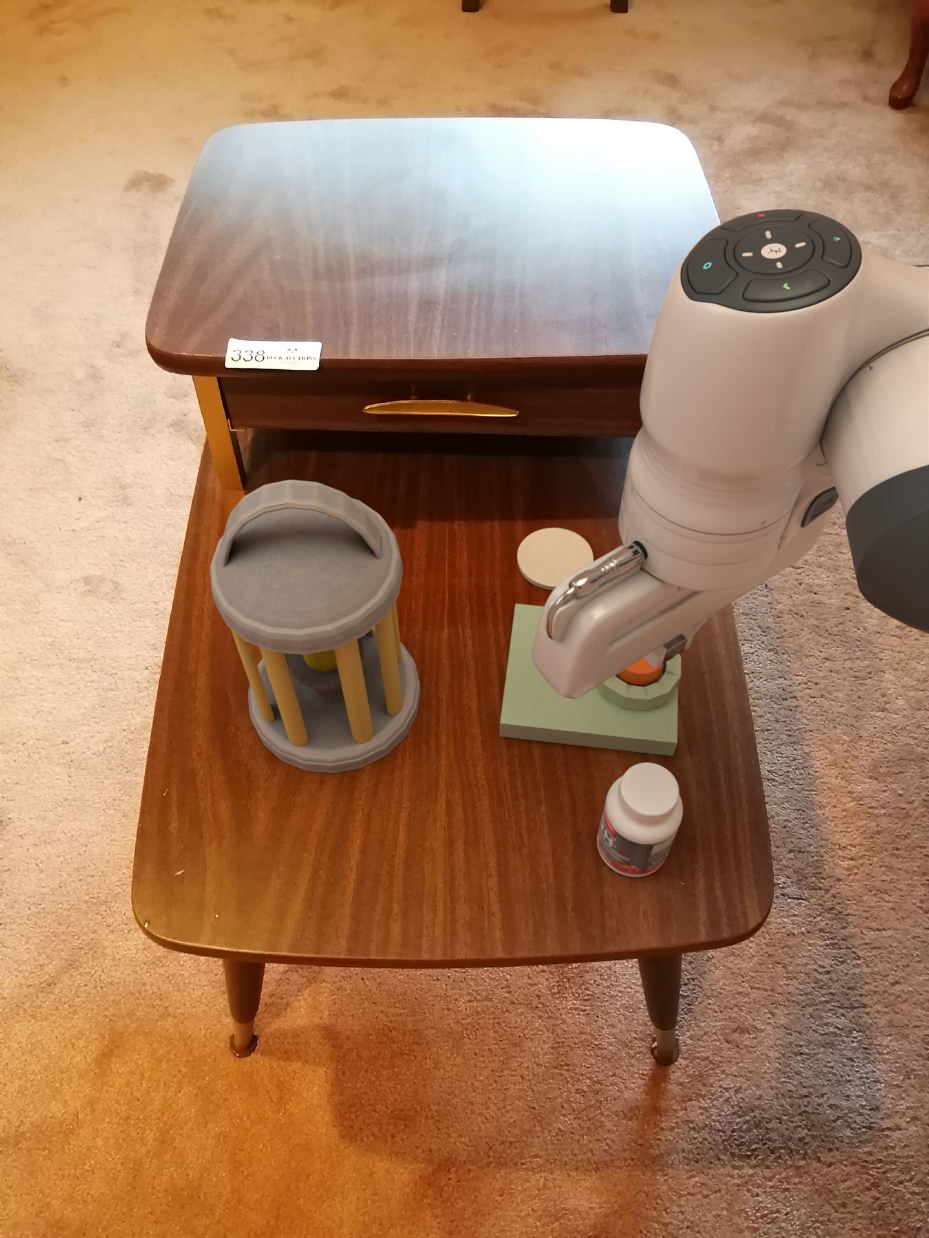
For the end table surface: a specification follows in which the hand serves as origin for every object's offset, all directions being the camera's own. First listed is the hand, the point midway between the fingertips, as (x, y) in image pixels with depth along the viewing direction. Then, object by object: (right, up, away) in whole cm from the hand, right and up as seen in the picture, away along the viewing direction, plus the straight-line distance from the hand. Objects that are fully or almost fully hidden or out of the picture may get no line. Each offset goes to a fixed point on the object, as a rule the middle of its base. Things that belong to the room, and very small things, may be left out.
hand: (663, 651), depth 65 cm
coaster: (-5, +8, +26) cm, 28 cm away
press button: (+1, -2, +15) cm, 15 cm away
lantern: (-24, -5, +18) cm, 30 cm away
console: (-3, -3, +18) cm, 19 cm away
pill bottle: (0, -15, +10) cm, 18 cm away
